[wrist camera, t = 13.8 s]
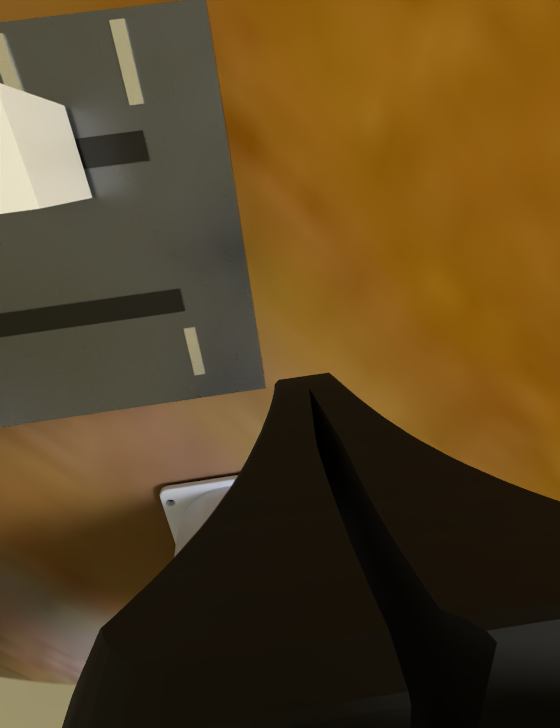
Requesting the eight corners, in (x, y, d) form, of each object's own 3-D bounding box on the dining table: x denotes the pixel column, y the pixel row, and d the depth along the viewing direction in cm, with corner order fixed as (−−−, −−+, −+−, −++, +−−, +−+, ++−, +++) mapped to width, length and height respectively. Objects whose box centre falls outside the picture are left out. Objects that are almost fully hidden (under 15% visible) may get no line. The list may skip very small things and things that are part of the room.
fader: (92, 197, 15) (40, 208, 11) (29, 206, 15) (-46, 220, 11) (64, 105, 14) (-6, 80, 10) (-5, 114, 14) (-104, 93, 10)
